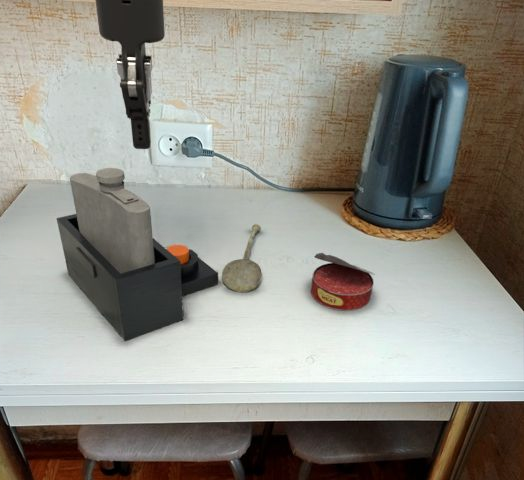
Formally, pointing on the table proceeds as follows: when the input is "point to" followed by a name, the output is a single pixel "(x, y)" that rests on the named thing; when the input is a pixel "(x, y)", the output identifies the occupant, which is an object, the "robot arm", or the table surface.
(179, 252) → the button
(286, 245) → the table surface
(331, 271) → the canned food
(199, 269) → the control panel
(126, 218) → the hip flask
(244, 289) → the soupspoon
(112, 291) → the black storage bin
